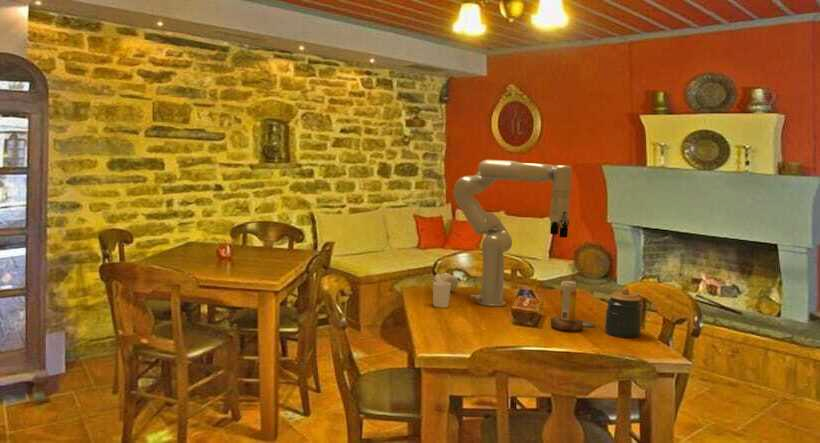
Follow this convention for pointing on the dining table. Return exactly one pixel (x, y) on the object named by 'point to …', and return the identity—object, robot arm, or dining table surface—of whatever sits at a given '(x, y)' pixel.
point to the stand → (566, 324)
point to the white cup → (441, 294)
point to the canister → (623, 314)
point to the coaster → (588, 324)
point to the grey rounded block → (447, 279)
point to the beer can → (567, 301)
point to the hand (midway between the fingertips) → (558, 235)
